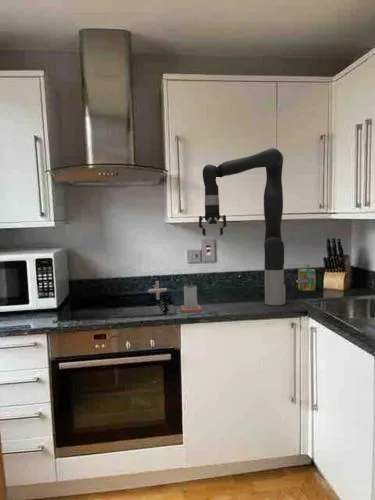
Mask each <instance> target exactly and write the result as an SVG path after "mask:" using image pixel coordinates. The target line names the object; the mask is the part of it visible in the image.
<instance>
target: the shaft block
mask: <svg viewBox="0 0 375 500" xmlns="http://www.w3.org/2000/svg"><path fill="white" fill-rule="evenodd" d="M180 309H181V313H182V314H183V313H201V312H202V308H201V306H200V304H197V308H195V309H186V308H185V304H183V305H181V306H180Z"/></svg>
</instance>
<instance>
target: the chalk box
mask: <svg viewBox="0 0 375 500" xmlns="http://www.w3.org/2000/svg"><path fill="white" fill-rule="evenodd" d="M297 271H298V272H297V288H298V291H300V292H301V291H302V292H304V291H305V292H316V291H317V288H316V287H317V285H316V284H317V281H316V279H317V272H316V269H314V268H310V263H309V264H307V265H306V268H298V270H297Z"/></svg>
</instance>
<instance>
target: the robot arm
mask: <svg viewBox="0 0 375 500" xmlns="http://www.w3.org/2000/svg"><path fill="white" fill-rule="evenodd" d="M283 155H284V154H283V153H282V152H281V151H280V150H279V149H277V148H274V147H273V148H272V147H270V148H268V149H265V150H263V151H260V152H258V153H256V154H253V155H249V156H246V157H241V158H237V159H236V158H234V159H231V160H227V161H224V162H222V163H220V165H219V164H218V165H219V166H218V167H216V166H215V165H213V164H209V163H208V164H206V165H204V167H203V169H202V181H203V185H204V216H202V215H199V216H198V227H199V228H201V230H202V231H201V233H202V235H203V236H204V237H206V235H207V233H206V227H207V226H208V225H216V224H217V226H219V235H220V236H223V234H224V228H226V227H227V216H226V215H225V214H224V215H220V196H219V185H218V184H217V179H216V177H220V178H223V177H227V176H232V175H239V174H241V173H243V172H247V171H249V170H253V169H258V168H265V169H266V170H265V174H266V181H265V186H264V187H265V188H264V192H263V217H264V223H265V233H264V241H263V242H264V243H263V247H264V303H265V305H269V306H281V305H286V284H285V276H284V275H285V272H284V271H285V269H284V267H285V244H284V241H283V240H282V239H283V238H282V231H281V225H282V220H283V210H284V194H283V180H282V175H283V166H284V156H283ZM220 178H219V179H220ZM204 218H205V219H204ZM203 220H205V222H204V224H202V223H203ZM220 220H222V222H223V224H222V223H221V222H220ZM206 221H207V222H206Z"/></svg>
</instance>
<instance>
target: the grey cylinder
mask: <svg viewBox="0 0 375 500" xmlns="http://www.w3.org/2000/svg"><path fill="white" fill-rule="evenodd" d="M183 295H184V296H183V298H184V299H183V301H184V302H183V305H185V308H186V309H195V308H197V305H198V287H197V285H192V284H191V285H185V286H183Z"/></svg>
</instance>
